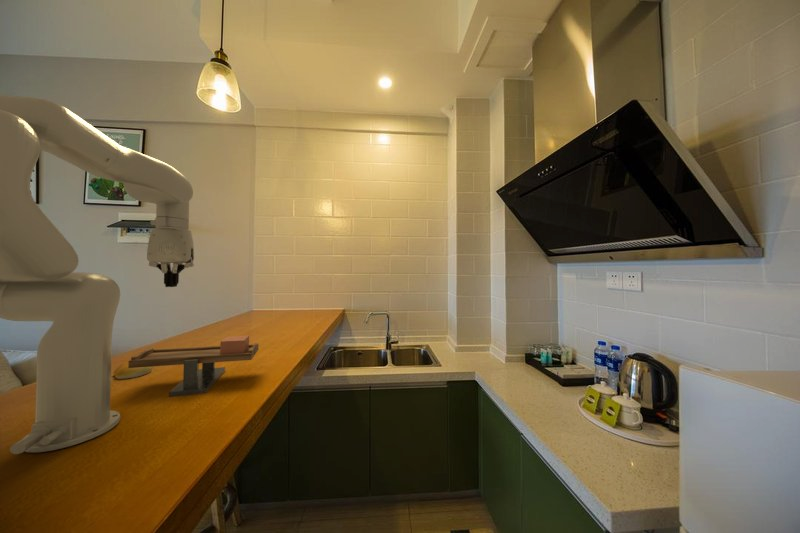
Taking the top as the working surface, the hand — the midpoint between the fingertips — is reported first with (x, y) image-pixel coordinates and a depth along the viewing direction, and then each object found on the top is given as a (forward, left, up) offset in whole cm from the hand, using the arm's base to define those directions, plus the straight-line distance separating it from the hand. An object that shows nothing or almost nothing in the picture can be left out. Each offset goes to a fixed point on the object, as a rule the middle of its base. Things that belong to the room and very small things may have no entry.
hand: (171, 286), depth 81 cm
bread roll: (+7, +12, -28) cm, 31 cm away
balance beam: (-6, -10, -20) cm, 23 cm away
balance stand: (-6, -10, -27) cm, 30 cm away
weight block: (-6, -19, -19) cm, 27 cm away
